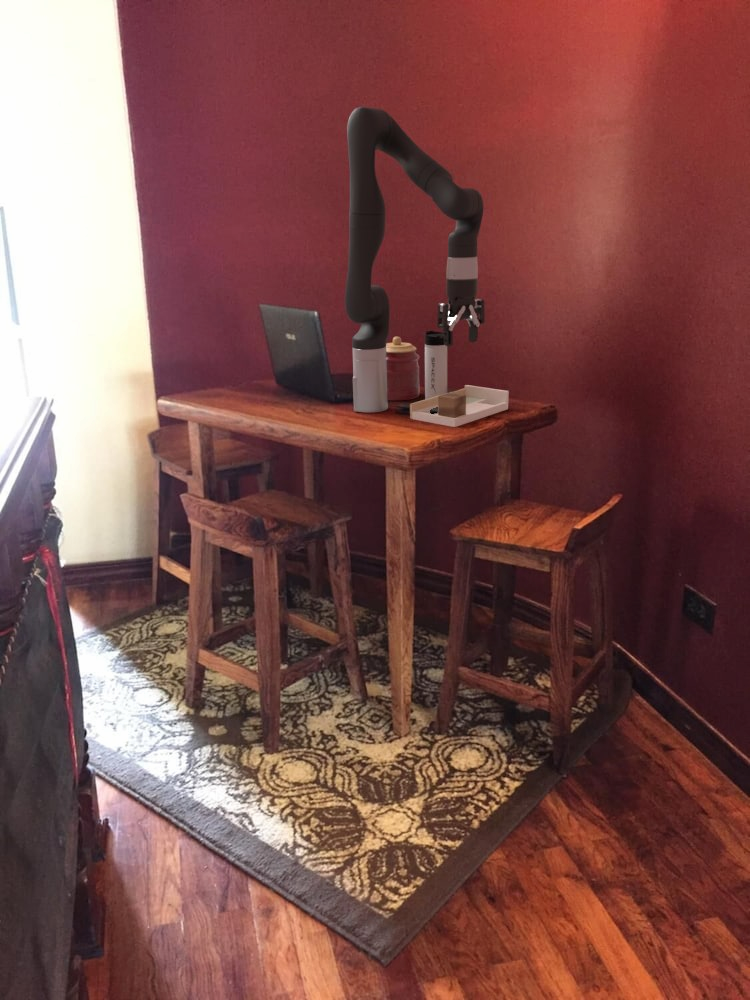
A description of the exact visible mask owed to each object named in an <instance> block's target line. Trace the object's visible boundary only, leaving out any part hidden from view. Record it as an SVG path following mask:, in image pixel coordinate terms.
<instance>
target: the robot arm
mask: <svg viewBox="0 0 750 1000" xmlns="http://www.w3.org/2000/svg"><path fill="white" fill-rule="evenodd" d="M346 129H347V130H346V132H347V133H346V135H347V136H346V137H347V139H346V140H347V148H348V149H347V153H348V163H349V215H348V218H349V219H348V221H349V224H348V228H349V229H348V230H349V231H348V235H349V236H348V237H349V238H348V239H349V240H348V265H347V276H346V277H347V278H346V284H345V285H346V286H345V294H344V308H345V313H346V316H348V319H349V320H350V321H351V322H353V323H355V324H360V326H359V327H360V328H359V330H358V332H357V333H355V334H354V335H353V336H352V340H351V344H352V345H351V346H352V368H353V369H352V372H353V373H352V374H353V376H352V392H353V393H352V394H353V395H352V396H353V397H352V398H353V412H359V413H379V412H384V411H387V410H388V409H389V405H388V403H389V400H388V399H387V356H386V344H387V341H388V338H389V333H390V301H389V296H388V293H387V292H386V290H385V289H384V288H383V287H382V286H380V285H377V284H372V273H373V267H374V264H375V260H376V258H377V256H378V253H379V250H380V248H381V246H382V244H383V241H384V238H385V232H386V203H385V199H384V196H383V193H382V190H381V187H380V184H379V182H378V179H377V173H376V163H375V161H376V160H375V159H376V150H378V151H381V152H383V153H384V154H385V155H388V156H390V157H391V158H393V159H394V160H395V161H396V162H397V163H398V164H399V165H400V167H402V170H403V171H404V173H405V174H406V176H407V177H408V179H409V180H410V181H411V182H412V183H413V184H414V185H415V186H416V187H418V188H419V189H420V190H421V191H422V192H424V193H425V194H426V195H427V196H429V197H430V198H431V200H432V201H433V202H434V204H435V205H436V206H437V208H438V209H439V210H440V211H441V213H443V215H445V217H448V218H449V219H452V220H454V221H456V222H455V229H454V230H453V231H451V233H450V234H449V235H448V239H447V262H446V282H445V283H446V289H445V290H446V293H445V295H446V296H447V298H448V300H447V301H448V302H447V303H443V302H439V303H438V305H437V324H436V327H437V329H441V330H442V331H443V333H444V344H445V346H447V347H453V345H454V328H455V326H456V325H457V324H458V322H459V321H462V320H466V321H467V323H468V325H469V326H468V342H470V343H477V341H478V338H479V337H478V332H479V327H480V325H482V324H485V320H486V319H485V318H486V317H485V299H482V298H475V297H477V296H478V283H479V282H478V278H479V277H478V274H479V266H478V265H479V264H478V236H479V234H480V233H479V232H480V229H481V226H482V225H481V224H482V220H483V215H484V200H483V197H482V194H481V193H480V192H479V191H478V190H477V189H475V188H470V187H460V186H459V185H458V184H456V183H455V182H454V181H453V180H454V179H453V176H452V174H451V172H450V171H448V170H447V169H446V168H445V167H443V166H442V165H441V164H440V163H439V162H437V160H435V159H434V158H432V157H431V156H430V155H429V154H428V153H426V152H425V151H424V150H423V149H422V148H421V147H419V145H417V144H416V143H415V142H414V141H413V139H411V137H410V136H409V135H408V134H407V133H406V132H405V131H404V129H402V128H401V126H400V125H399V124H398V122H397V121H396V120H395V118H393V117H392V115H391V114H389V113H388V112H387V111H386V110H384V109H381V108H374V107H370V106H369V107H367V106H358V107H357V108H355V109H353V111H352V112H351V114H350V115H349V118H348V121H347V126H346Z"/></svg>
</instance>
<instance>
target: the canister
mask: <svg viewBox="0 0 750 1000" xmlns="http://www.w3.org/2000/svg"><path fill="white" fill-rule="evenodd" d="M416 351H417V347H416V346H415V345H413V344H412V343H410V342H402V338H401V337H400V336H394V337H393V338H392V342H386V356H387V399H388V401H396V402H397V401H408V400H409V401H410V400H414V399H417V398H419V396H420V392H421V390H420V389H421V388H420V366H419V363H418V362H419V359H420V355H419V354H418V353H416Z"/></svg>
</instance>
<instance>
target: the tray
mask: <svg viewBox="0 0 750 1000" xmlns="http://www.w3.org/2000/svg"><path fill="white" fill-rule="evenodd" d="M447 393H448V392H447ZM447 393H446V394H447ZM449 393H456V394H462V395H466V414H465V415H462V416H459V417H456V418H451V417H446V416H440V415H438V412H437V413H434V414H431V413H430V410H431V409H433V408H436V407H438V396H436V397H432V398H429V399H425V398H424V399H422V400H419V401H415V402H412V403H409V418H410V419H411V420H415V421H420V422H425V423H431V424H436V425H442V426H446V427H451V428H452V427H453V428H457V427H459V426H462V425H465V424H468V423H471V422H474V421H477V420H480V419H483V418H486V417H488V416H492V415H496V414H497V413H501V412H503V411H506V410H508V409H509V393H510V392H509V390H504V389H497V388H490V387H483V386H476V385H471V384H470V385H469V384H465V385H464V388H461V389H458V390H454V391H450V392H449ZM443 395H444V394H443ZM439 396H440V395H439Z"/></svg>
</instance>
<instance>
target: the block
mask: <svg viewBox="0 0 750 1000" xmlns="http://www.w3.org/2000/svg"><path fill="white" fill-rule="evenodd" d="M437 413H438V415H440V416H446V417H451V418H456V417H459V416H462V415H465V414H466V395H462V394H456V393H450V392H447V394H444V395H440V396H438V412H437Z"/></svg>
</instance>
